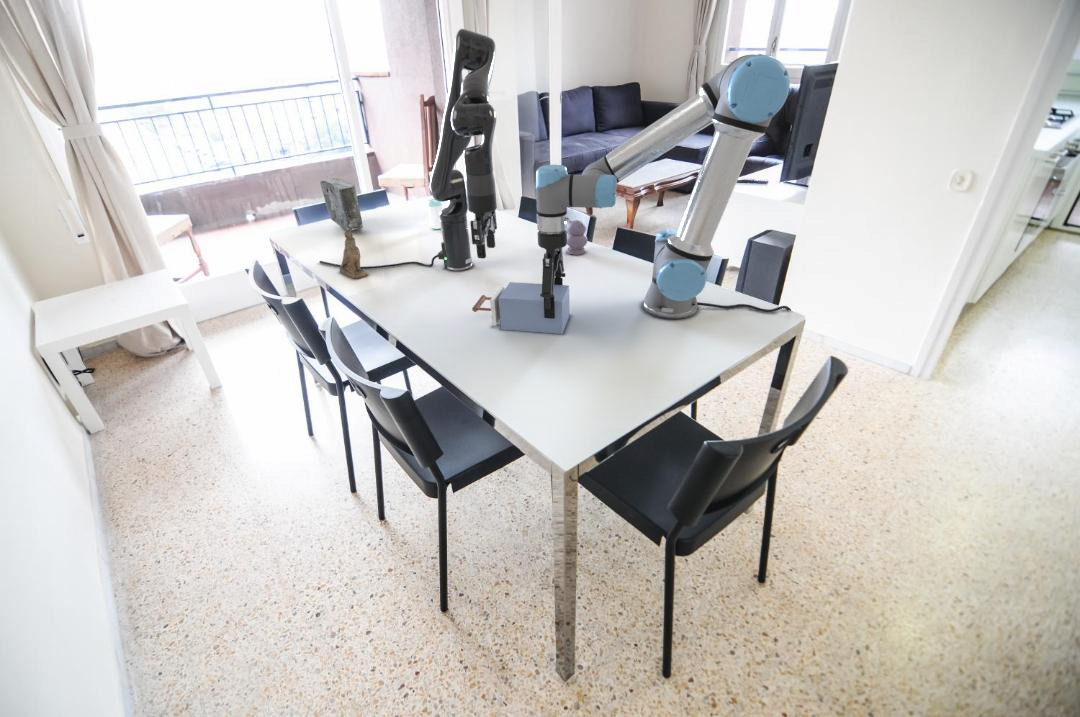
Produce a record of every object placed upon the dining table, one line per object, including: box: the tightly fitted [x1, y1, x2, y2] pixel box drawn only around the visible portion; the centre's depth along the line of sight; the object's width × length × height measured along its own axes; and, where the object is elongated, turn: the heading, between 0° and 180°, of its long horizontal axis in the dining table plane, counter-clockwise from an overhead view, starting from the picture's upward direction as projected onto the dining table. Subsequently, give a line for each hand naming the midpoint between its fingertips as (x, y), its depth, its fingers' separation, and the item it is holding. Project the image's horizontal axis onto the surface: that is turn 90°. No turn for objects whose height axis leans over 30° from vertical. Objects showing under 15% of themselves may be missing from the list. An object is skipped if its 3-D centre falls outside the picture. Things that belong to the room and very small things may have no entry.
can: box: [426, 198, 445, 230], centre depth 220 cm, size 7×7×12 cm
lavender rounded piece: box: [566, 219, 588, 256], centre depth 186 cm, size 8×8×12 cm
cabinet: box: [499, 281, 570, 335], centre depth 139 cm, size 17×11×10 cm, turn 77°
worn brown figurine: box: [339, 230, 367, 280], centre depth 174 cm, size 12×6×18 cm, turn 43°
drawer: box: [471, 285, 505, 326], centre depth 140 cm, size 22×10×8 cm, turn 77°
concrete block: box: [319, 177, 364, 232], centre depth 222 cm, size 27×9×20 cm, turn 36°
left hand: (486, 252), depth 135 cm, fingers open, 8 cm apart
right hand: (553, 308), depth 138 cm, fingers closed on cabinet, 11 cm apart
